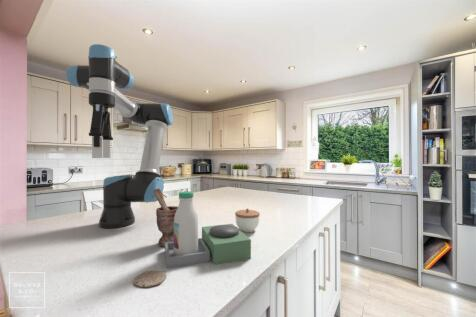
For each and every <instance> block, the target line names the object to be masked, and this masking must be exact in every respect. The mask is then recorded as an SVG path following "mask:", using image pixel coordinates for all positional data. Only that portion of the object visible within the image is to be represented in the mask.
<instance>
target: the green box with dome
mask: <svg viewBox="0 0 476 317" xmlns="http://www.w3.org/2000/svg"><path fill="white" fill-rule="evenodd" d="M201 238H202V240H203V242H204V243H205V245H206V247H207V248H208V250H209V252H210V261H211V262H212V263H213V265H214V266H215V265H219V264H227V263H231V262H237V261H242V260H250V259H252V240H251V238H250V237H249V236H247V235H246V233H245V232H243V231H241V230H240V229H239V228H238V226H237V225H236V226H235V225H234V224H233V223H227V224H217V225H209V226H207V225H205V226H201Z"/></svg>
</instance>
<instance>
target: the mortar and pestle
mask: <svg viewBox="0 0 476 317" xmlns="http://www.w3.org/2000/svg"><path fill="white" fill-rule="evenodd" d="M154 195H155V197H156V199H157V200H158V201H157V202H158V204H159V206H160V207H158V208H156V209H155V213H156V225H157V226H156V227H157V229H158V231H159V232H160V233H161V235H162V236H161V237H160V238H159V240H158V246H160V247H164V248H165V243H168V242H174V217H175V213H176V211H177V208H178V206H175V205H174V206H173V205H172V206H171V205H169V206H168V205H167V203H166V201H165V198H164V195H163V193H162V192H161V190H160V189H155V190H154Z"/></svg>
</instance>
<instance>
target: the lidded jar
mask: <svg viewBox="0 0 476 317" xmlns="http://www.w3.org/2000/svg"><path fill="white" fill-rule="evenodd" d="M234 214H235V223H236V227H238V228H239V230H240V231H241V232H243V233H251V232H254V231H255V230H256V229H257V228H258V226H259V223H260V214H261V213H260V212H259V211H257V210H254V209H249V208H246V209H240V210H239V209H238V210H237V211H235V213H234Z"/></svg>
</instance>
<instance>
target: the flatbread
mask: <svg viewBox="0 0 476 317" xmlns="http://www.w3.org/2000/svg"><path fill="white" fill-rule="evenodd" d="M166 278H167V274H166V273H165V272H164V271H162V270H147V271H143V272H142V273H140V274H139V275H137V276H135V278H134V280H133V284H134V286H136V287H140V288H150V287H155V286H156V287H157V286H159V285H161V284H162V283H163V282H164V281H165V279H166Z"/></svg>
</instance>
